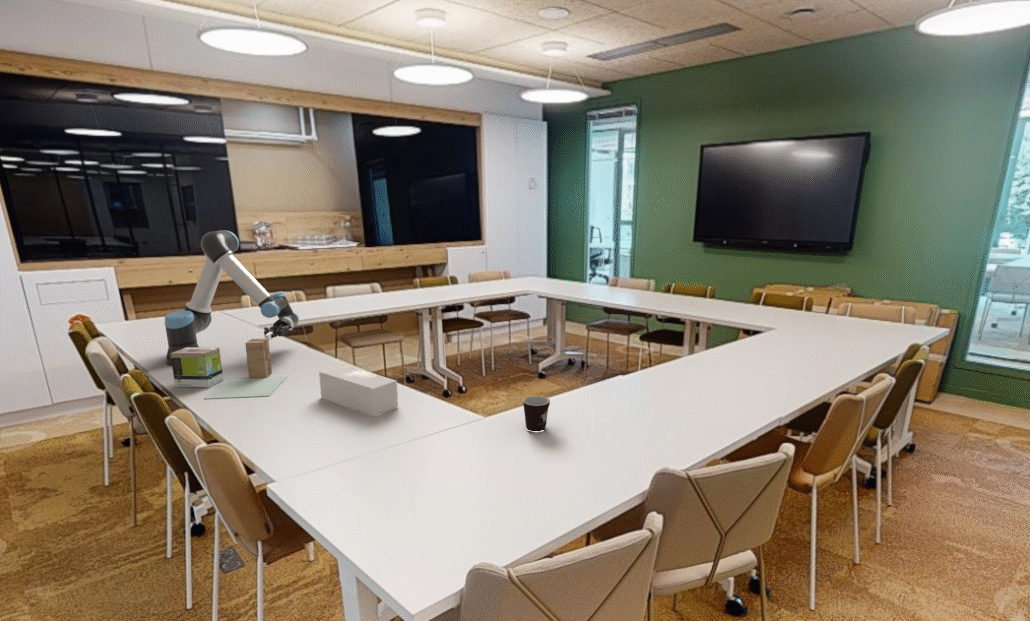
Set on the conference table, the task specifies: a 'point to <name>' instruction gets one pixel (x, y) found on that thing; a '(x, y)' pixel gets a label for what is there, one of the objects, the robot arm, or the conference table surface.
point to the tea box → (197, 367)
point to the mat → (246, 388)
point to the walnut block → (258, 358)
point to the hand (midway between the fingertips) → (266, 338)
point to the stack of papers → (359, 390)
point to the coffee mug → (536, 412)
